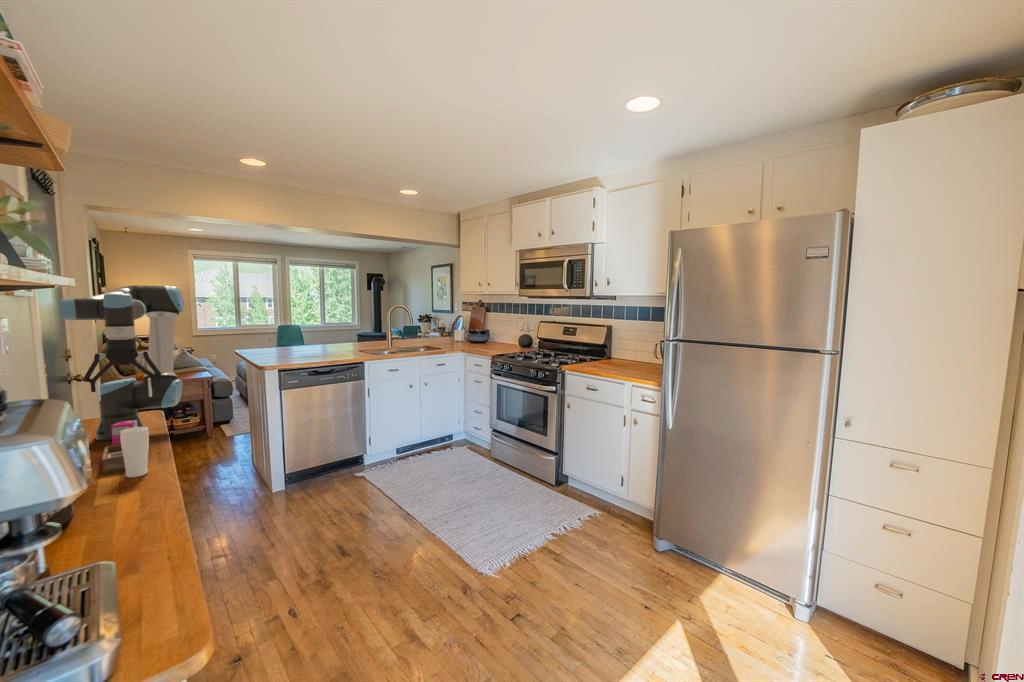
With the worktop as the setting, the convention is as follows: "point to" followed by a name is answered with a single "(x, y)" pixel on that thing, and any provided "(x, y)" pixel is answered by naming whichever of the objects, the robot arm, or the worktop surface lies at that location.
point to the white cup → (135, 450)
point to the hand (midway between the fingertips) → (125, 398)
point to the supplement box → (119, 427)
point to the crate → (113, 459)
